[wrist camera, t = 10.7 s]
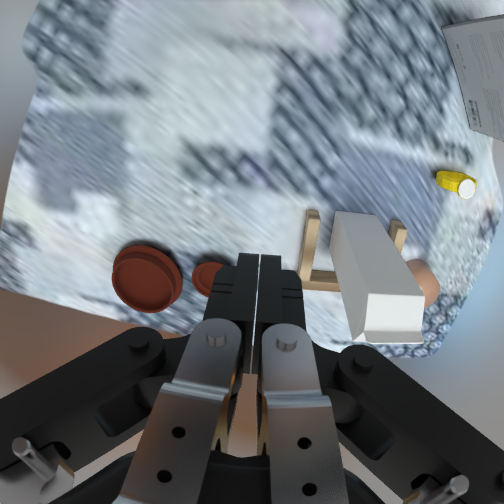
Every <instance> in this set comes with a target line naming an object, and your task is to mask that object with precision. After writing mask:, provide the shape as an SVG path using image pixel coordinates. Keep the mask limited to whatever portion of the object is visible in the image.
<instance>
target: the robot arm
mask: <svg viewBox="0 0 504 504" xmlns="http://www.w3.org/2000/svg"><path fill="white" fill-rule="evenodd" d="M258 266H259V254H249V253H239V256H238V262H237V266H226V265H223V266H222V267H221V268H220V269H219V270H218V271H217V272H216V273H215V277H214V280H213V284H212V288H211V292H210V295H209V298H208V302H207V306H206V310H205V313H204V317H203V321H202V322H200V323H199V324H197V325H196V326H195V327H194V329H193V331H192V333H191V334H189V335H187V336H183V337H179V338H172V339H163V337H162V336H161V334H160V333H159V332H157V331H156V330H154V329H152V328H148V327H136V328H132V329H129V330H127V331H125V332H123V333H121V334H120V335H118V336H116V337H114V338H112V339H110V340H109V341H107V342H105V343H103V344H101V345H99V346H97V347H96V348H94V349H92V350H90V351H88V352H86V353H85V354H83V355H81V356H79V357H77V358H75V359H74V360H72V361H70V362H68V363H66V364H65V365H63V366H61V367H59V368H57V369H55V370H53V371H52V372H50V373H48V374H46V375H44V376H42V377H40V378H39V379H37V380H35V381H33V382H31V383H30V384H27V385H26V386H24V387H22V388H20V389H18V390H16V391H15V392H13V393H11V394H9V395H7V396H5V397H3V398H1V399H0V502H1V504H385V503H384V502H383V501H382V500H381V499H380V498H379V497H378V496H377V495H376V494H375V493H374V492H373V491H372V490H371V489H370V488H369V487H368V486H367V485H366V484H365V483H364V482H363V481H362V480H361V479H359V478H358V477H357V476H356V475H354V474H353V473H352V472H350V471H348V470H346V469H345V468H343V464H342V458H341V452H340V447H339V442H340V443H341V444H342V445H343V446H344V447H345V448H346V449H347V450H349V451H350V452H351V453H352V454H353V455H354V456H355V457H356V458H357V459H358V460H359V461H360V462H361V463H362V464H363V465H365V466H366V467H367V468H368V469H369V470H370V471H371V472H372V473H373V474H374V475H375V476H376V477H377V478H379V479H380V480H381V481H382V482H383V483H384V484H385V485H386V486H388V487H389V488H390V489H391V490H392V491H393V492H394V493H395V494H397V495H398V496H399V497H400V498H401V499H402V500H403V504H504V451H503V450H502V449H500V448H499V447H498V446H497V445H495V444H494V443H493V442H492V441H490V440H489V439H488V438H487V437H485V436H484V435H483V434H481V433H480V432H479V431H478V430H476V429H475V428H474V427H473V426H471V425H470V424H469V423H468V422H466V421H465V420H464V419H463V418H461V417H460V416H459V415H458V414H456V413H455V412H454V411H453V410H451V409H450V408H449V407H447V406H446V405H445V404H444V403H442V402H441V401H440V400H439V399H437V398H436V397H435V396H434V395H432V394H431V393H430V392H429V391H427V390H426V389H425V388H424V387H422V386H421V385H420V384H418V383H417V382H416V381H415V380H413V379H412V378H411V377H410V376H408V375H407V374H406V373H405V372H403V371H402V370H400V368H398V367H397V366H396V365H395V364H393V363H392V362H391V361H389V360H388V359H387V358H386V357H384V356H383V355H382V354H381V353H379V352H378V351H377V350H375V349H373V348H371V347H369V346H365V345H351V346H348V347H346V348H345V349H344V350H342V352H341V353H338V352H335V351H331V350H328V349H325V348H322V347H320V346H319V345H317V344H316V343H314V342H313V341H312V340H311V338H310V336H309V334H308V333H307V331H306V323H305V312H304V301H303V291H302V281H301V278H300V277H299V276H298V274H297V273H296V272H295V271H294V270H281V256H277V255H264V254H261V262H260V274H259V287H258V299H257V311H256V323H255V336H254V349H253V361H252V374H258V377H257V378H258V379H257V390H256V422H257V455H256V456H252V457H246V458H245V457H244V458H240V457H235V456H232V455H229V454H227V453H228V444H229V439H230V434H231V430H232V425H233V421H234V416H235V411H236V407H237V402H238V397H239V390H240V388H241V385H242V377H243V373H247V374H249V372H250V361H251V351H252V339H253V328H254V317H255V306H256V294H257V280H258ZM143 429H144V431H143V434H142V436H141V439H140V441H139V444H138V446H137V449H136V451H134V452H131V453H128V454H126V455H124V456H122V457H120V458H118V459H117V460H115V461H114V462H112V463H111V464H109V465H108V466H106V467H105V468H103V469H102V470H100V471H99V472H97V473H96V474H94V475H93V476H91V477H90V478H88V479H87V480H85V481H84V482H82V483H81V484H79V485H77V486H76V487H74V488H73V483H74V472H76V471H77V470H79V469H81V468H82V467H84V466H86V465H88V464H89V463H91V462H92V461H94V460H96V459H97V458H99V457H101V456H102V455H104V454H105V453H107V452H109V451H110V450H112V449H114V448H115V447H117V446H118V445H120V444H122V443H123V442H125V441H126V440H128V439H129V438H131V437H132V436H134V435H135V434H137V433H138V432H140V431H142V430H143ZM72 488H73V489H72Z"/></svg>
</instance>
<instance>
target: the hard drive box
mask: <svg viewBox="0 0 504 504" xmlns="http://www.w3.org/2000/svg"><path fill="white" fill-rule="evenodd" d="M442 31H443V33H444V36H445V39H446V42H447V45H448V48H449V51H450V54H451V57H452V59H453V62H454V66H455V69H456V72H457V76H458V79H459V83H460V86H461V90H462V94H463V98H464V103H465V107H466V111H467V115H468V119H469V124H470V128H471V130H473V131H476V132H479V133H482V134H485V135H488V136H491V137H493V138H496V139H498V140H501V141H503V142H504V14H503V15H497V16H491V17H485V18H480V19H475V20H470V21H465V22H461V23H456V24H452V25H448V26H443V27H442Z"/></svg>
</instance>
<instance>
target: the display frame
mask: <svg viewBox="0 0 504 504" xmlns="http://www.w3.org/2000/svg"><path fill="white" fill-rule="evenodd" d="M319 226H320V216H319V213H318V211H315V210H307V213H306V220H305V226H304V233H303V240H302V246H301V252H300V258H299V265H298V271H297V274H298V276H299V277H300V278H301V281H302V289H306V290H319V291H333V292H341V291H340V287H339V283H338V279H337V276H336V272H330V271H318V270H312V265H313V259H314V254H315V249H316V243H317V237H318V232H319ZM407 231H408V230H407V228H406V227H405V226H404V224H403V223H402V222H401V221H398V220H391V224H390V228H389V232H388V235H389V237H390V238H391V240H392V241H393V243H394V244H395V246H396V248H397V249H398V251H399V253H400V254H401V251H402V248H403V245H404V241H405V238H406V235H407Z"/></svg>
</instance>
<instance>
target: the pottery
mask: <svg viewBox="0 0 504 504" xmlns="http://www.w3.org/2000/svg"><path fill="white" fill-rule="evenodd" d="M223 265H224V264H222V263H219V262H214V261H210V262H205V263H202V264H200V265H199V266H197V267H196V268H195V270H194V271H193V273H192V283H193V285H194V287H195V289H196V290H197V291H198V292H199V293H201V294H202V295H204V296H206V297H209V295H210V292H211V288H212V284H213V280H214V277H215V273H216V272H217V271H218V270H219V269H220V268H221V267H222V266H223ZM112 284H113V287H114V290H115V292H116V294H117V295H118V296H119V298H120V299H121V300H122V301H123V302H124V303H125V304H127V305H128V306H130V307H131V308H133V309H135V310H138V311H141V312H145V313H156V312H160V311H162V310H164V309H166V308H167V307H168V306H169V305H170V304H172V303H174V302H175V301H176V300H177V299H178V297H179V296H180V294H181V291H182V277H181V274H180V272H179V270H178V268H177V266H176V265H175V263H174V262H173V261H172V260H171V259H170V258H169V257H168V256H167V255H165V254H164V253H162V252H161V251H159V250H157V249H155V248H152V247H148V246H142V245H136V246H131V247H128V248H125V249H124V250H122V251H121V252H120V253H119V254H118V255H117V257H116V258H115V261H114V264H113V273H112Z"/></svg>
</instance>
